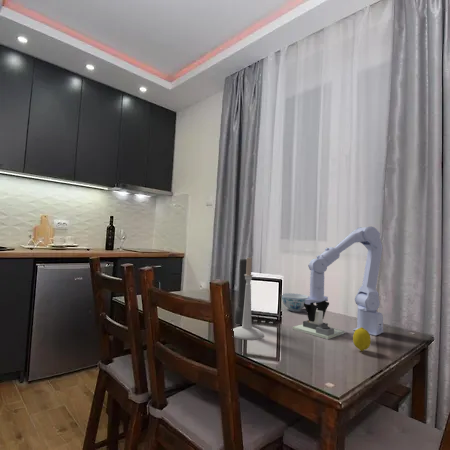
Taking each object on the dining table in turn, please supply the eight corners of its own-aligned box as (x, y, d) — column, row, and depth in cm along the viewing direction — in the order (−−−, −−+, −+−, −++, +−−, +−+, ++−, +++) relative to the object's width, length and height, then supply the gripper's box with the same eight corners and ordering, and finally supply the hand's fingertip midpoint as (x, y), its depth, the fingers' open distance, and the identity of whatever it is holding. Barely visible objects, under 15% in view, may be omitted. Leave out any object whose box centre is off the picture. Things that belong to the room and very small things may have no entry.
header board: (344, 333, 126) (344, 325, 126) (327, 339, 118) (327, 330, 118) (310, 324, 138) (310, 316, 138) (292, 329, 129) (292, 320, 130)
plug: (322, 328, 129) (322, 311, 130) (318, 329, 127) (318, 312, 127) (311, 325, 133) (312, 308, 133) (307, 326, 131) (307, 309, 131)
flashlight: (250, 326, 131) (250, 322, 138) (252, 260, 133) (253, 259, 140) (234, 325, 132) (235, 321, 139) (236, 259, 133) (237, 258, 140)
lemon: (355, 347, 109) (356, 324, 110) (372, 351, 106) (372, 327, 106) (350, 351, 105) (350, 327, 106) (367, 355, 102) (368, 330, 102)
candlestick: (265, 332, 124) (267, 256, 126) (260, 341, 112) (263, 258, 113) (234, 328, 127) (237, 255, 129) (226, 337, 115) (229, 256, 117)
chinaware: (312, 309, 170) (312, 295, 170) (303, 314, 157) (304, 299, 158) (286, 305, 178) (286, 292, 178) (276, 310, 165) (276, 295, 165)
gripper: (317, 285, 138) (317, 315, 138) (299, 287, 129) (298, 320, 128) (332, 287, 133) (331, 319, 132) (313, 289, 123) (313, 324, 123)
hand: (316, 320), depth 130 cm, fingers open, 7 cm apart
